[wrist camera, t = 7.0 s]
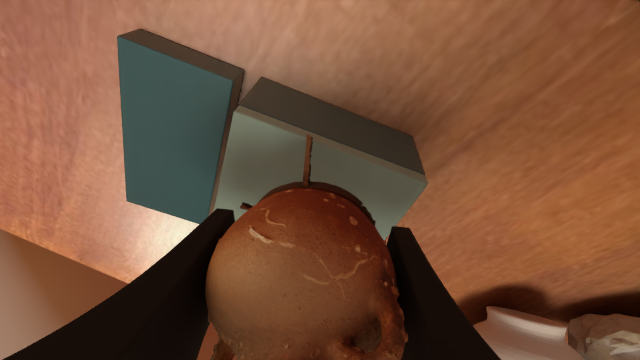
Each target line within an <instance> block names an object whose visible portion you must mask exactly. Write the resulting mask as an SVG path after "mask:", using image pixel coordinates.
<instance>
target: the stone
mask: <svg viewBox="0 0 640 360" xmlns="http://www.w3.org/2000/svg"><path fill="white" fill-rule="evenodd" d="M568 345H569V346H571V347H572V348H573V349H574V350H575V351H577V352H578V353H579V354H580V355H581V356H582V357H583V358H584V359H585V360H640V318H638V317H632V316H626V315H622V314H611V315H597V314H585V315H582V316H581V317H577V318H575V319H571V321H570V323H569V326H568Z"/></svg>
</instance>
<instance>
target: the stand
mask: <svg viewBox="0 0 640 360" xmlns="http://www.w3.org/2000/svg"><path fill="white" fill-rule="evenodd" d="M117 43H118V60H119V77H120V95H121V112H122V129H123V147H124V164H125V182H126V199H127V201H128V202H131V203H134V204H137V205H141V206H144V207H147V208H150V209H153V210H157V211H160V212H163V213H166V214H169V215H172V216H176V217H179V218H182V219H185V220H188V221H192V222H195V223H198V224H201V223H202V222H203V221H204V220H205V219H206V218H207V217H208V216H209V215H210V214H211V213H212V212H213V211H215V210H216V209H217V208H220V209H230V210H233V211H234V217H235V221H236V220H237V219H239V218H240V217H241V216H242V214H244V213H245V212H247V211H248V210H245V209H241V208H240V206H241V205H242V202H244V203H248V204H250V205H251V206H254V205H256V204H257V203H258V202H259V201H260V199H261V198H262V197H263V196H264V195H265V194H267V193H268V192H269V191H270V190H272V189H274V188H276V187H279V186H281V185H285V184H289V183H292V182H303V171H304V160H305V150H306V138H307V135H310V136H311V137H312V138H313V140H312V141H313V144H312V147H313V148H312V152H311V155H312V156H311V158H310V164H311V176H310V181H311V182H326V183H329V184H332V185H336V186H338V187H341V188H343V189H345V190H347V191H349V192H350V193H352V194H353V195H354V196H356V197H357V198H358V199H359V200H360V201H361V202H362V203H363V204H362V205H361V206H365V207H366V208H367V211H368V212H370V213H371V216H372V218H373V220H375V221H376V223H375V227H376V229H377V231H378V232H379V234H380V235H381V237H382V238H383V240H385V239H386V238H387V237H388V235H389V234H390V232H391V228H392V226H396V225H397V224H398V222H399V221H400V220H401V219H402V217H403V216H404V215H405V213H406V212H407V211H408V210H409V208H410V207H411V206H412V204H413V203H414V202H415V201H416V199H417V198H418V197H419V195H420V194H421V193H422V192H423V190H424V189H425V188H426V186H427V185H428V182H427V179H426V176H425V172H424V169H423V166H422V163H421V160H420V157H419V154H418V151H417V148H416V145H415V142H414V139H413V137H412V136H410V135H407V134H405V133H402V132H400V131H397V130H395V129H392V128H389V127H387V126H384V125H382V124H379V123H377V122H374V121H372V120H369V119H367V118H364V117H362V116H359V115H357V114H354V113H352V112H349V111H346V110H344V109H341V108H339V107H336V106H334V105H331V104H329V103H326V102H324V101H321V100H319V99H316V98H314V97H311V96H309V95H306V94H304V93H301V92H298V91H296V90H293V89H291V88H288V87H286V86H283V85H281V84H278V83H276V82H273V81H271V80H268V79H266V78H263V77H261V78H260V79H259V81H258V82H257V83H256V84H255V86H254V87H253V88H252V89H251V90H250V92H249V93H248V94H247V95H246V97H245V98H244V99H243V100H242V102H241V103H240V104H239V106H238V107H237V104H238V99H239V94H240V89H241V84H242V79H243V75H244V70H243V69H240V68H238V67H235V66H233V65H230V64H228V63H225V62H222V61H220V60H217V59H215V58H212V57H210V56H207V55H205V54H202V53H200V52H197V51H195V50H192V49H190V48H187V47H185V46H182V45H179V44H177V43H174V42H172V41H169V40H167V39H164V38H162V37H159V36H157V35H154V34H152V33H149V32H147V31H144V30H142V29H138V30H135V31H132V32H128V33H125V34H122V35H119V36H117Z"/></svg>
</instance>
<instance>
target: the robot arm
mask: <svg viewBox="0 0 640 360" xmlns="http://www.w3.org/2000/svg"><path fill="white" fill-rule="evenodd" d="M234 222H235V217H234V211H233V210H230V209H220V208H217V209H216V210H215V211H213V212H212V213H211V214H210V215H209V216H208V217H207V218H206V219H205V220H204V221H203V222H202V223H201V224H200V225H198V226H197V227H196V228H195V229H194V230H193V231H192V232H191V233H190V234H189V235H188V236H187V237H185V238H184V239H183V240H182V241H181V242H180V243H179V244H178V245H176V246H175V247H174V248H173V249H172V250H171V251H170V252H168V253H167V254H166V255H165V256H164V257H162V258H161V259H160V260H159V261H158V262H156V263H155V264H154V265H153V266H151V267H150V268H149V269H148V270H146V271H145V272H144V273H143V274H141V275H140V276H139V277H137V278H136V279H135V280H133V281H132V282H131V283H129V284H128V285H127V286H125V287H124V288H122V289H121V290H119V291H118V292H117V293H115V294H114V295H112V296H111V297H109V298H108V299H106V300H105V301H103V302H102V303H100V304H99V305H97V306H95V307H94V308H92V309H91V310H89V311H88V312H86V313H84V314H83V315H81V316H80V317H78V318H77V319H75V320H73V321H72V322H70V323H68V324H67V325H65V326H63V327H61V328H60V329H58V330H56V331H54V332H53V333H51V334H49V335H48V336H46V337H44V338H42V339H40V340H39V341H37V342H35V343H33V344H31V345H30V346H28V347H26V348H24V349H22V350H20V351H18V352H17V353H14V354H13V355H11V356H9V357H7V358H5V359H3V360H196V359H197V356H198V353H199V350H200V348H201V345H202V342H203V338H204V336H205V334H206V331H207V328H208V326H209V324H210V322H208V308H207V303H206V297H205V293H206V292H205V288H206V276H207V271H208V267H209V263H210V260H211V257H212V255H213V253H214V251H215V248H216V245H217V243H218V242H219V241H218V240H219V239H221V238H222V237H223V236H224V234H225V233H226V232H227V230H228V229H229V228H230V227H231V226H232V224H233V223H234ZM387 248H388V250H389V252H390V255H391V258H392V261H393V264H394V269H395V273H396V278H397V288H398V293H399V296H398V298H397V302H398V304H399V306H400V308H401V309H402V311H403V315H404V329H405V331H406V333H407V334H408V341H407V342H406V343H405V347H404V352H403V356H402V358H401V360H501V359H500V358H499V356H498V355H497V354H496V353H495V352H494V351H493V349H492V348H491V347H490V346H489V345H488V344H487V342H486V341H485V340H484V339H483V338H482V336H481V335H480V334H479V333H478V331H477V330H476V329H475V328H474V327H473V325H472V324H471V323H470V321H469V320H468V319H467V318H466V316H465V315H464V314H463V312H462V311H461V310H460V308H459V307H458V305H457V304H456V303H455V301H454V300H453V298H452V297H451V296H450V294H449V293H448V291H447V290H446V288H445V287H444V285H443V284H442V282H441V281H440V279H439V278H438V276H437V274H436V273H435V271H434V270H433V268H432V267H431V265H430V263H429V262H428V260H427V258H426V256H425V255H424V253H423V251H422V250H421V248H420V246H419V244H418V242H417V241H416V239H415V237H414V235H413V233H412V231H411V230H410V229H409V228H404V227H395V226H392V228H391V232H390V235H389V239H388V242H387Z"/></svg>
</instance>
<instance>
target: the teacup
mask: <svg viewBox="0 0 640 360" xmlns="http://www.w3.org/2000/svg"><path fill="white" fill-rule="evenodd" d="M486 310H487V315H488V317H487V320H485V321H483V322H479V323H476V324H474V325H473V327H474V328H475V329H476V330H477V331H478V333H479V334H480V335H481V336H482V338H483V339H484V340H485V341H486V342H487V344H488V345H489V346H490V347H491V348H492V349H493V351H494V352H495V353H496V354H497V355H498V356H499V358H500V359H501V360H585V359H584V358H583V357H582V356H581V355H580V354H579V353H578V352H577V351H575V350H574V349H573V348H572V347H571V346H569V345H568V344H567V343H566V342H565V339H564V336H565V333H566V330H567V328H566V326H565V325H563V324H561V323H558V322H555V321H552V320H549V319H546V318H543V317H540V316H536V315H532V314H528V313H524V312H520V311H516V310H511V309H507V308H501V307H495V306H487V307H486Z"/></svg>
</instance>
